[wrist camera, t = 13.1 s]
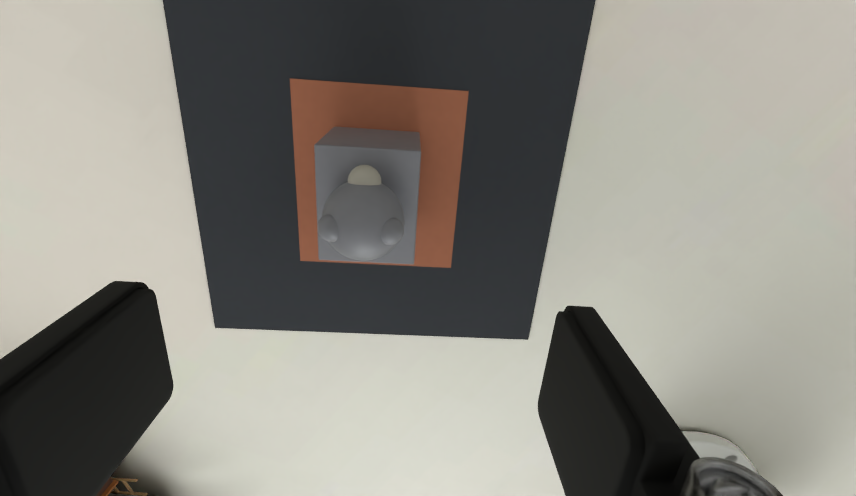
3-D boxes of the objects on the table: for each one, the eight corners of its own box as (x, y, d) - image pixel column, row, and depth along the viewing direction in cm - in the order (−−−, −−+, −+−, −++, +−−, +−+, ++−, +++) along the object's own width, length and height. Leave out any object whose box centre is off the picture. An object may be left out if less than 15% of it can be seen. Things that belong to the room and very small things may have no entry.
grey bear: (419, 131, 20) (422, 169, 14) (413, 226, 22) (414, 299, 16) (333, 126, 20) (294, 161, 13) (335, 222, 22) (302, 294, 15)
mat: (597, -14, 18) (598, -15, 18) (527, 338, 25) (528, 340, 25) (155, -52, 17) (153, -53, 17) (215, 326, 24) (214, 328, 24)
